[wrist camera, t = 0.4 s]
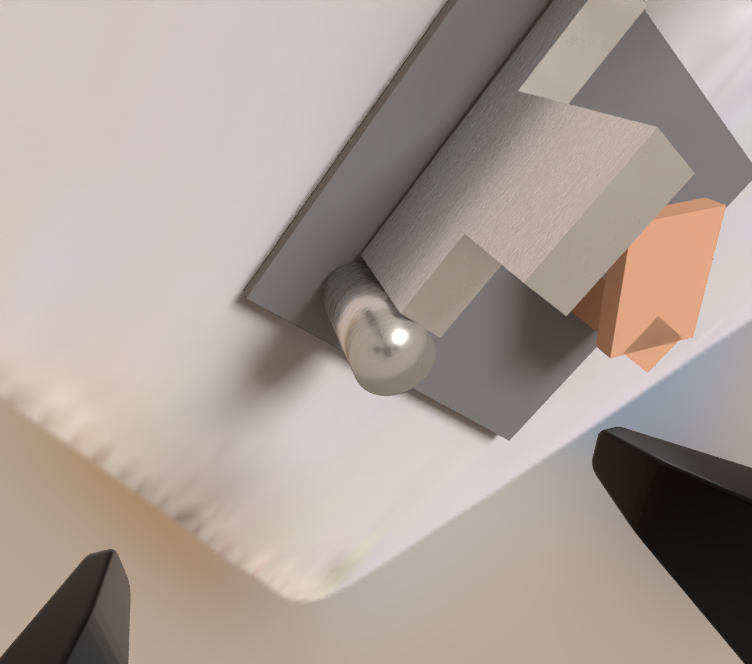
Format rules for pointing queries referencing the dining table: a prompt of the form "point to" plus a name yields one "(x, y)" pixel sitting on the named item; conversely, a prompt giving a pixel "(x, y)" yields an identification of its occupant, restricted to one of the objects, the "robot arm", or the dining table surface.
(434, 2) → the dining table surface
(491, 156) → the link
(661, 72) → the board
